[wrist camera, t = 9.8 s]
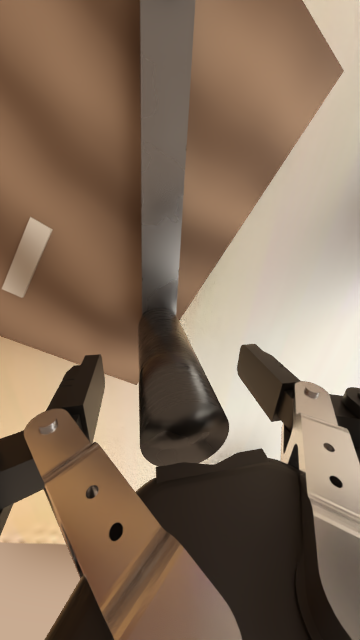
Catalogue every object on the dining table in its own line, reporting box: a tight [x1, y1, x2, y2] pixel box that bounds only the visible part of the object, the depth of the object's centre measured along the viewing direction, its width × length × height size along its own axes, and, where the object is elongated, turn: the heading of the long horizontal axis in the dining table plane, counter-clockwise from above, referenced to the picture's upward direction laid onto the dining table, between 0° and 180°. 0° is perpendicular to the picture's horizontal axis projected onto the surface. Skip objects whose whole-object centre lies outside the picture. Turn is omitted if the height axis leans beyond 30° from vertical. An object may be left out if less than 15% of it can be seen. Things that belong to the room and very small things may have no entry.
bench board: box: [0, 0, 344, 385], centre depth 13 cm, size 26×18×2 cm
